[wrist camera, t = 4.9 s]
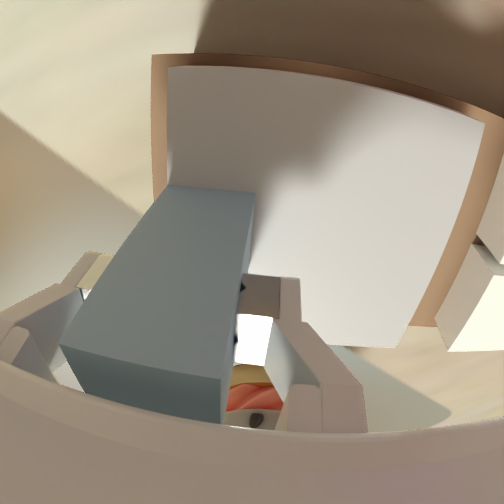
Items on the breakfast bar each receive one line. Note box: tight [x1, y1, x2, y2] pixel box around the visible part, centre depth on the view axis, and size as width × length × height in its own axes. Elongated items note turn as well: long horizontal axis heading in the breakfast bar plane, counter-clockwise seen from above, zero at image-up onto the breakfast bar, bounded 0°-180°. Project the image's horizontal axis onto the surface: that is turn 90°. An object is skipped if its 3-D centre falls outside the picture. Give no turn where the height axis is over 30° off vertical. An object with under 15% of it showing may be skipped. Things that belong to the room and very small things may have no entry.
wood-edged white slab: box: [151, 53, 504, 327], centre depth 16 cm, size 20×12×6 cm, turn 85°
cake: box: [224, 363, 284, 430], centre depth 25 cm, size 10×11×15 cm
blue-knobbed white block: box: [58, 66, 485, 425], centre depth 9 cm, size 10×11×9 cm
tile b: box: [435, 244, 504, 352], centre depth 13 cm, size 5×5×2 cm
